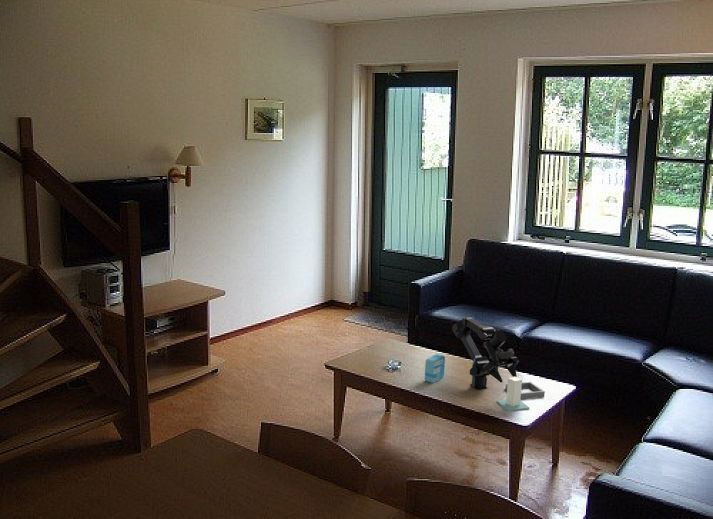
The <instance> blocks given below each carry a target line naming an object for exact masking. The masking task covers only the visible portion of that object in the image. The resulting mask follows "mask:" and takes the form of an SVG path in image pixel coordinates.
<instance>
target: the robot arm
mask: <svg viewBox="0 0 713 519" xmlns="http://www.w3.org/2000/svg"><path fill="white" fill-rule="evenodd" d="M471 330H472V331H473V332H475V333H476V334H477V336H478V338H480V339H481V340H486V341H483V344H482V348H486V351H487V352H488V357H487V356H482V355H481V353H480V351H479V349H478V348H477V346H476V343H475V342H474V339H473V338H472V336H471ZM452 332H453V333H454V335H455V337H456V338H458V339H460V340H461V341H462V343H463V345H464V348H466V351H467V353H468V355H469V357H470V359H471V360H472V364H471V368H470V369H469V375H470V376H471V383H470V384H469V385H470V386H471V387H473V388H474V389H475V390H482V389H483V390H484V389H488V387H487V385H488V384H487V382H488V378H487V376H492V377H493V378H495V380H496V381H498V382H500V383H503V379H502V376H501V374H500V372H499V368H500V367H507V368H506V370H507V371H508V372H509V374H510V375H511V376H512V377H517V369H516V368H517V365H518V363H519V362H520V360H519V358H518V357H517V356H515V352H514V349H513V348H508V349H507V350H506V351H504V350H503V349H501V348H500V347H501V346H502V345H503V344H504V343H505V342H506V341H507V339H508V336H507V334H505V332H503V331H501V329H495V328H494V327H492V326H489V325H484V324H482V323H481V322H479V321H477V320H475V319H474V317H471V316H468V317H463V318H461V320H458V321H457V322H455V323H454V324H453V325H452ZM489 359H491V361H489ZM517 378H518V377H517Z"/></svg>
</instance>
